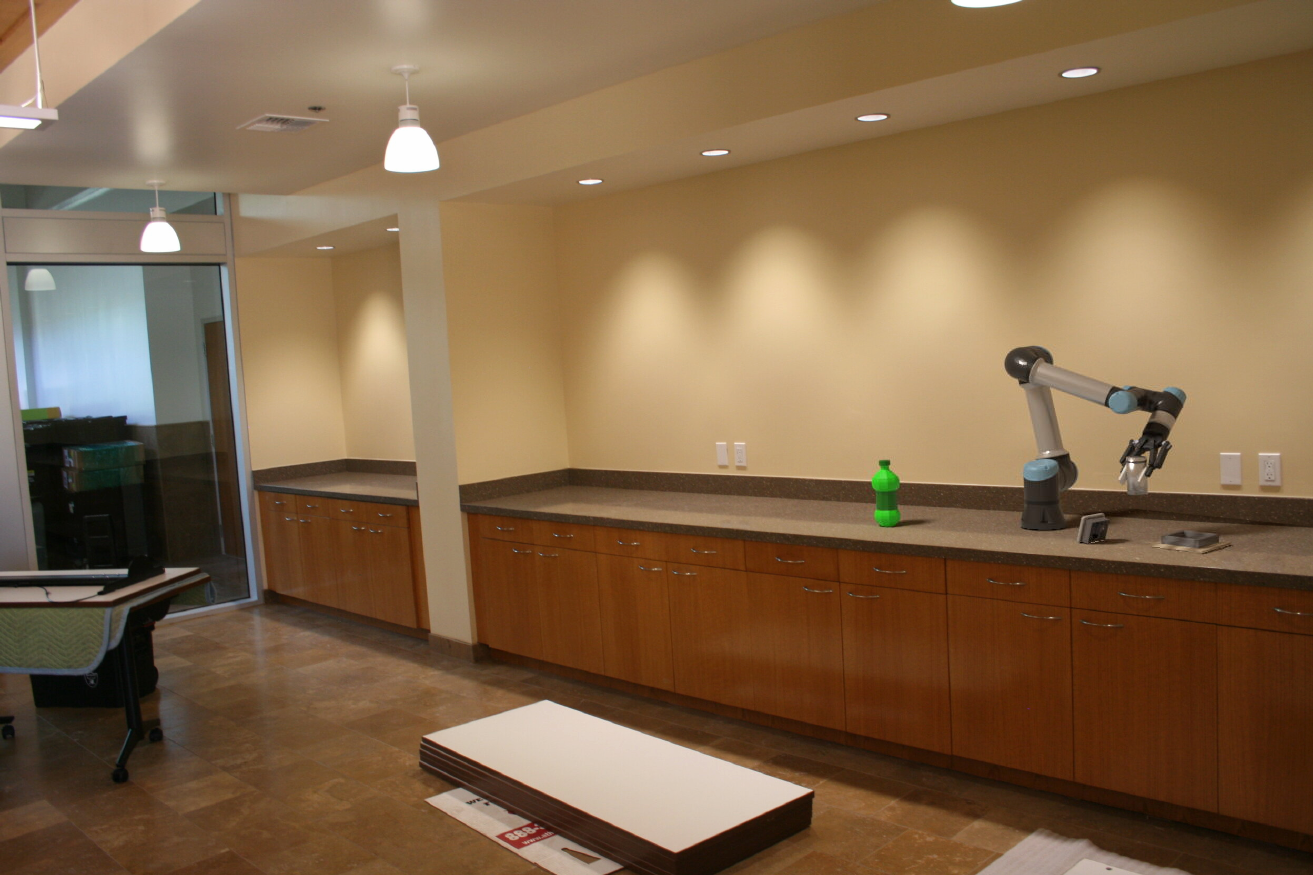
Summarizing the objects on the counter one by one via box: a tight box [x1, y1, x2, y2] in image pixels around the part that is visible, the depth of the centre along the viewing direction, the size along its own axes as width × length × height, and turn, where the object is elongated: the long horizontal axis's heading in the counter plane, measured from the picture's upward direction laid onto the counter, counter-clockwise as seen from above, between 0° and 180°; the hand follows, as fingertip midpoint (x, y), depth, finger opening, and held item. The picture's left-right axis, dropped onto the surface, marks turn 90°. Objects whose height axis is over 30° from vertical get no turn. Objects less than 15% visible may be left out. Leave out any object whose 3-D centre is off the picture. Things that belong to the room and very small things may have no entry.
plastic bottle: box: [871, 459, 902, 528], centre depth 363 cm, size 10×10×25 cm
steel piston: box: [1126, 455, 1149, 496], centre depth 311 cm, size 6×6×12 cm
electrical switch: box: [1076, 512, 1110, 545], centre depth 309 cm, size 9×5×9 cm, turn 113°
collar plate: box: [1149, 529, 1232, 552], centre depth 294 cm, size 16×16×4 cm
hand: (1130, 483), depth 309 cm, fingers closed on steel piston, 6 cm apart
